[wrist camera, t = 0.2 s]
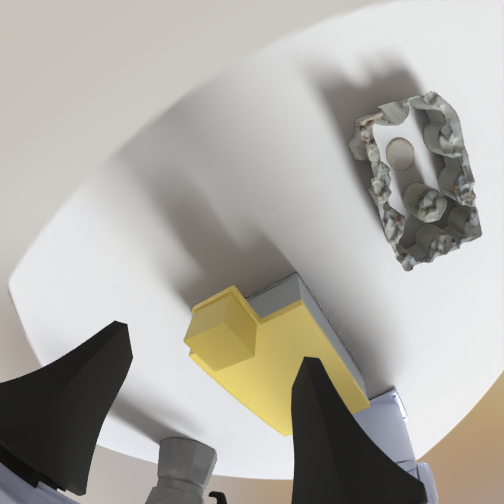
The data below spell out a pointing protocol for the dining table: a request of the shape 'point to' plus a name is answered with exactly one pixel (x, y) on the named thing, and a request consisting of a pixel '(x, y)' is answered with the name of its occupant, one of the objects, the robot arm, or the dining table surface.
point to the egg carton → (417, 194)
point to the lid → (264, 355)
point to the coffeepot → (184, 473)
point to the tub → (296, 290)
